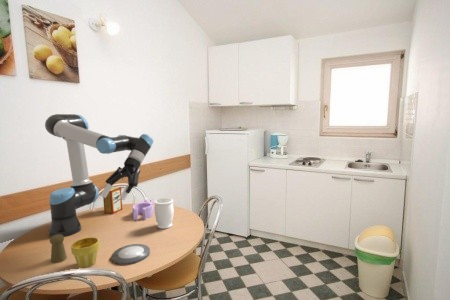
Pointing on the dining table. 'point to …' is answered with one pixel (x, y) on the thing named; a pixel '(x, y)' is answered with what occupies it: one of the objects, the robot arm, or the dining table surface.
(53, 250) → the cork
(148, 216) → the clip
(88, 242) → the plant pot
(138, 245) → the base
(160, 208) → the jar
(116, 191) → the baking soda box
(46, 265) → the dining table surface
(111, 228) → the dining table surface
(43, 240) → the dining table surface
